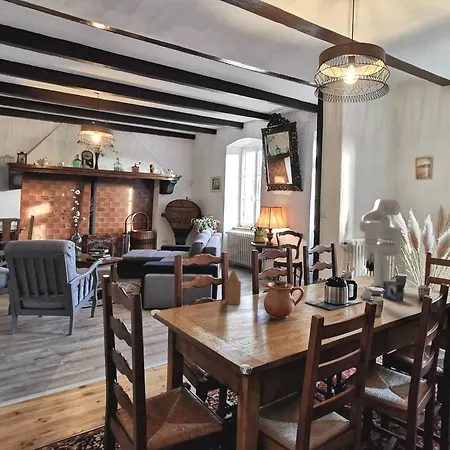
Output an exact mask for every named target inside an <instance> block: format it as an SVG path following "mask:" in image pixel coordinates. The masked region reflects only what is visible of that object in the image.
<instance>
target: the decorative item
mask: <svg viewBox="0 0 450 450" xmlns="http://www.w3.org/2000/svg"><path fill="white" fill-rule="evenodd" d="M224 287H225V288H224V291H225V293H224V303H226V304H227V305H230V306H234V305H236V306H237V305H240V304H241V297H242V296H241V293H242V291H241V289H242V281H241V280H240V279H239V277H238V275H237V272H236V271H235V268H232V270H231V272H230V274H229V276H228V278H227V279H226V280H225V286H224Z"/></svg>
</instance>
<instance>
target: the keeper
mask: <svg viewBox="0 0 450 450" xmlns="http://www.w3.org/2000/svg"><path fill="white" fill-rule="evenodd" d="M366 289H367V290H369V291H370V289H371V288H366ZM360 299H361V300H362V301H365V300H370V299H364V298H363V297H362V295H360Z"/></svg>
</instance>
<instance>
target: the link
mask: <svg viewBox="0 0 450 450" xmlns="http://www.w3.org/2000/svg"><path fill="white" fill-rule="evenodd" d="M361 294H362V295H361V296H362V297H363V298H364V299H371V291H369V290H367V288H362V293H361Z"/></svg>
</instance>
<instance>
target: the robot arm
mask: <svg viewBox="0 0 450 450" xmlns="http://www.w3.org/2000/svg"><path fill="white" fill-rule="evenodd" d="M400 212H401V206H400V204H399V201H398V200H396V199H395V198H394V199H393V198H392V199H389V198H387V199H386V198H380V199H377V200H376V201H374V203H373V206H372V209H371V211H369V212H367V213H365V214H364V215H362V217H361V220H360V222H359V231H361V232H362V233H364V245H365V247H364V248H365V250H364V259H365V269H367V271H368V272H373V282H371V284H370V285H371V286H372V287H375V286H380V287H379V288H381V287H383V282H384V281H389V270H390V269H389V267H390V262H389V260H388V258H387V257H400V256H401V249H402V230H401V229H400V228H399V227H394V226H393V227H392V226H391V219H390V216H398V215H400ZM379 240H380V241H379ZM387 241H388V242H387ZM389 241H390V242H389Z"/></svg>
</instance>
